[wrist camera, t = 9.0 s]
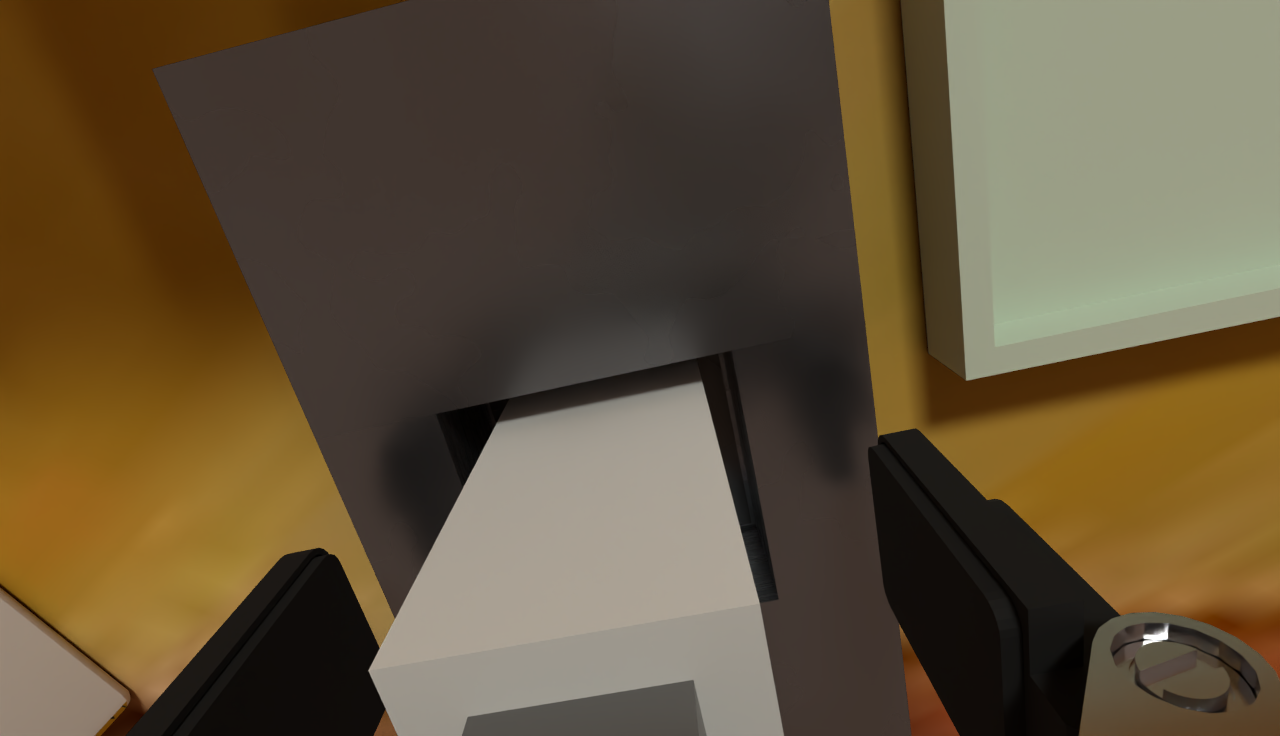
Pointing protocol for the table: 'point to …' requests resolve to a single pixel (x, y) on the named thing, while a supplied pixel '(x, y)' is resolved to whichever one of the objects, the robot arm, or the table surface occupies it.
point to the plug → (588, 579)
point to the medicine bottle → (50, 681)
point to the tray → (1092, 173)
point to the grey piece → (570, 271)
